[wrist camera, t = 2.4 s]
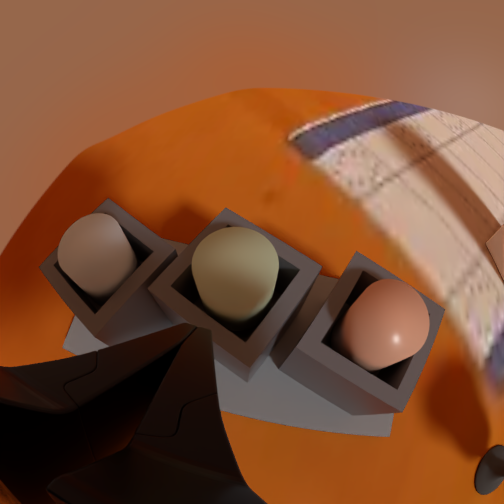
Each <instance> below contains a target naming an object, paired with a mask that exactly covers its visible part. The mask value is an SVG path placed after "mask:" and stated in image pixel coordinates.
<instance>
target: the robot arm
mask: <svg viewBox="0 0 504 504" xmlns="http://www.w3.org/2000/svg"><path fill="white" fill-rule="evenodd" d="M0 504H267V503H266V502H265V501H264V500H262V499H261V498H260V497H259V496H258V495H257V494H256V493H255V492H254V491H252V490H251V489H250V487H249V486H248V485H247V483H246V482H245V480H244V478H243V476H242V474H241V472H240V469H239V467H238V464H237V462H236V459H235V456H234V454H233V451H232V448H231V446H230V443H229V440H228V437H227V434H226V431H225V428H224V424H223V421H222V417H221V412H220V406H219V398H218V391H217V382H216V372H215V362H214V352H213V341H212V331H211V330H210V329H207V328H203V327H197V326H196V325H193V324H189V323H181V324H178V325H175V326H172V327H169V328H166V329H163V330H160V331H157V332H154V333H151V334H148V335H145V336H141V337H138V338H135V339H132V340H129V341H125V342H122V343H119V344H116V345H112V346H109V347H106V348H102V349H99V350H98V351H92V352H88V353H85V354H81V355H77V356H73V357H69V358H65V359H60V360H54V361H49V362H43V363H37V364H30V365H24V366H17V367H3V366H0Z"/></svg>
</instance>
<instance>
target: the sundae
mask: <svg viewBox="0 0 504 504" xmlns="http://www.w3.org/2000/svg"><path fill="white" fill-rule="evenodd" d="M503 479H504V446H502V445H498V446H495V447H493V448H492V449H491V450H489V451H488V452H487V454H486V455H485V456H484V458H483V459H482V461H481V463H480V464H479V467H478V469H477V473H476V478H475V486H476V490H477V492H478V493H480V494H482V495H485V494H489V493H491V492H492V491H494V490H495V489H496V488H497V487H498V486H499V485H500V484H501V482H502V481H503Z"/></svg>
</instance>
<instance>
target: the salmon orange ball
mask: <svg viewBox="0 0 504 504" xmlns="http://www.w3.org/2000/svg"><path fill="white" fill-rule="evenodd" d="M429 324H430V323H429V314H428V310H427V307H426V305H425V303H424V301H423V299H422V298H421V296H420V295H419V294H418V292H417V291H416V290H415V289H413V288H412V287H411V286H410V285H408V284H406V283H404V282H402V281H399V280H395V279H382V280H379V281H376V282H374V283H372V284H371V285H370V286H368V287H367V288H366V289H365V291H364V292H363V293H362V294H361V295H360V296H359V297H358V299H357V300H356V301H355V302H354V303H353V304H352V305H351V307H350V308H349V309H348V310H347V311H346V312H345V313H344V314H343V315H342V317H341V318H340V319H339V320H338V321H337V322H336V324H335V326H334V328H333V331H332V335H331V347H332V350H334V351H335V352H337V353H338V354H340V355H341V356H343V357H345V358H346V359H348V360H349V361H351V362H353V363H354V364H356V365H357V366H359V367H361V368H362V369H364V370H366V371H367V372H369V373H373V372H375V371H378V370H380V369H383V368H385V367H387V366H390V365H392V364H395V363H397V362H399V361H401V360H404V359H406V358H408V357H410V356H412V355H414V354H415V353H416V352H418V351H419V350H420V349H421V347H422V346H423V345H424V343H425V341H426V339H427V336H428V332H429Z"/></svg>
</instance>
